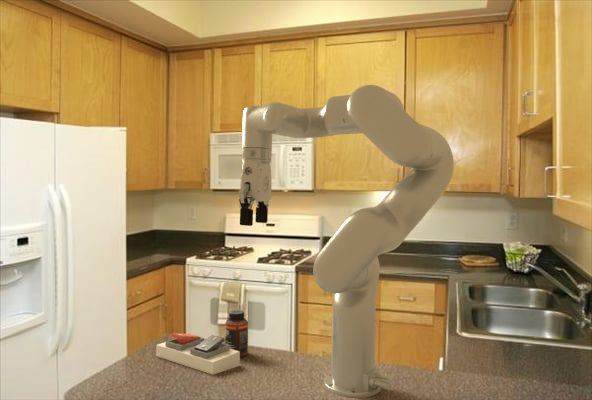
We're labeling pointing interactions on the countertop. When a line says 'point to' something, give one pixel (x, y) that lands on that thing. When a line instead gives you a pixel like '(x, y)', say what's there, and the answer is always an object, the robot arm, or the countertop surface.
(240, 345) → the supplement bottle
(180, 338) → the red rocker
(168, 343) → the rocker switch panel
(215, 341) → the black rocker
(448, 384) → the countertop surface
